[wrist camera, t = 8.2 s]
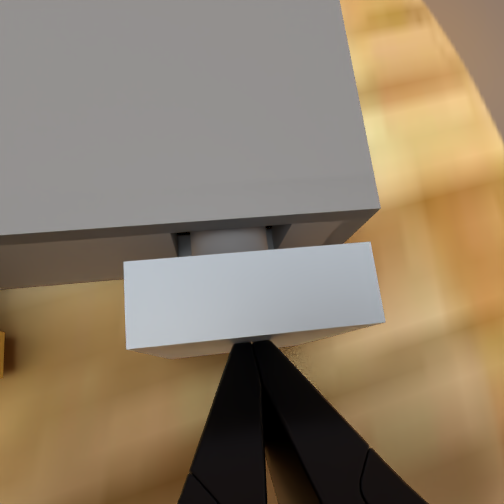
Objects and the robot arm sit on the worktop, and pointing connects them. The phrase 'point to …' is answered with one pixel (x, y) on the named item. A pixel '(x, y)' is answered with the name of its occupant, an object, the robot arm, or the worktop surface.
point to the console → (173, 131)
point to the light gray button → (247, 294)
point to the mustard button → (2, 352)
